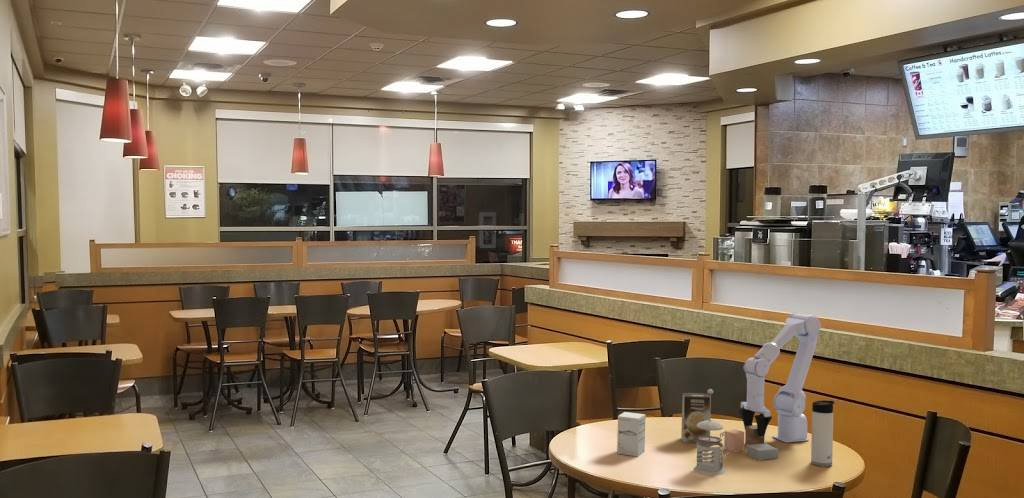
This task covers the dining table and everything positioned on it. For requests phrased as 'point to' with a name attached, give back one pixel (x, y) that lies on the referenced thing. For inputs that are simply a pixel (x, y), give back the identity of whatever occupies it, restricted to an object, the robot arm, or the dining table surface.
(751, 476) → the dining table surface
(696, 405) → the coffee box
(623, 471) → the dining table surface
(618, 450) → the supplement box
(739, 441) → the terracotta block
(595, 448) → the dining table surface
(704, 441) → the french press
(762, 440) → the walnut block
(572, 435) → the dining table surface
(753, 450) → the base block
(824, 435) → the travel mug
